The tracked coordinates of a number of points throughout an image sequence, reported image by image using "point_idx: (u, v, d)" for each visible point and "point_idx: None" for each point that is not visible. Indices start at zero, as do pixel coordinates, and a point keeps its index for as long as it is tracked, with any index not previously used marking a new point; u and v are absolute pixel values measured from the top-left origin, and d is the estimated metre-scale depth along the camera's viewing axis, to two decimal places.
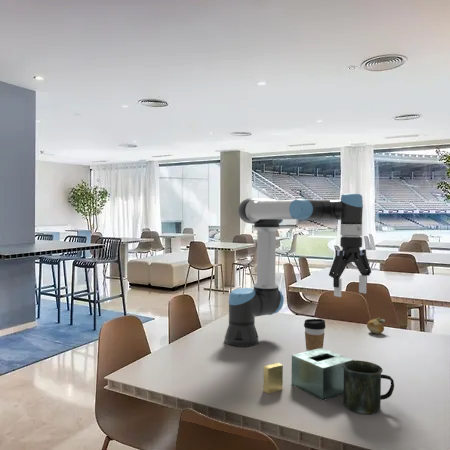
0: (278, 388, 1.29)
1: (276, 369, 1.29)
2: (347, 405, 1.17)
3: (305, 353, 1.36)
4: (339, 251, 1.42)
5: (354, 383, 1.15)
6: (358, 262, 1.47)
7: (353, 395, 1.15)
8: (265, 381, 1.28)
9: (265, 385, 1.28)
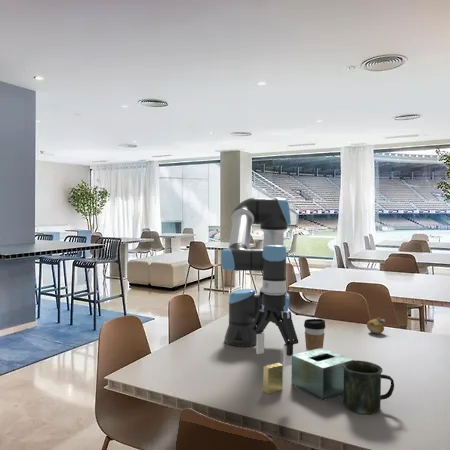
0: (278, 388, 1.29)
1: (276, 369, 1.29)
2: (347, 405, 1.17)
3: (305, 353, 1.36)
4: None
5: (354, 383, 1.15)
6: None
7: (353, 395, 1.15)
8: (265, 381, 1.28)
9: (265, 385, 1.28)
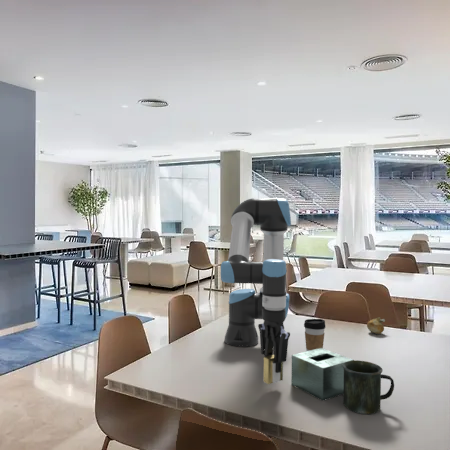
0: None
1: None
2: (347, 405, 1.17)
3: (305, 353, 1.36)
4: None
5: (354, 383, 1.15)
6: None
7: (353, 395, 1.15)
8: (265, 371, 1.28)
9: (265, 376, 1.28)
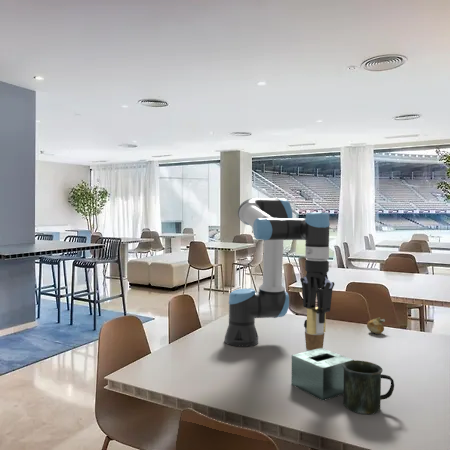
0: None
1: None
2: (347, 405, 1.17)
3: (305, 353, 1.36)
4: None
5: (354, 383, 1.15)
6: None
7: (353, 395, 1.15)
8: (309, 322, 1.29)
9: (309, 327, 1.29)
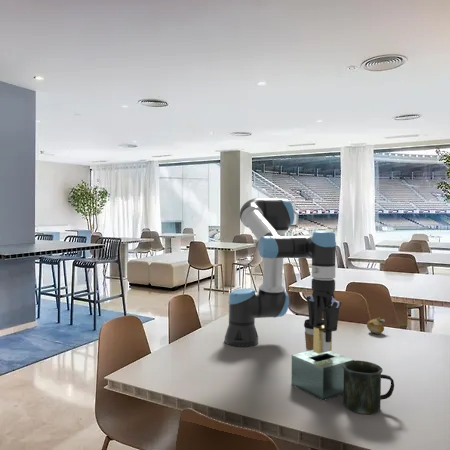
0: None
1: None
2: (347, 405, 1.17)
3: (305, 353, 1.36)
4: None
5: (354, 383, 1.15)
6: None
7: (353, 395, 1.15)
8: (315, 341, 1.30)
9: (316, 345, 1.30)
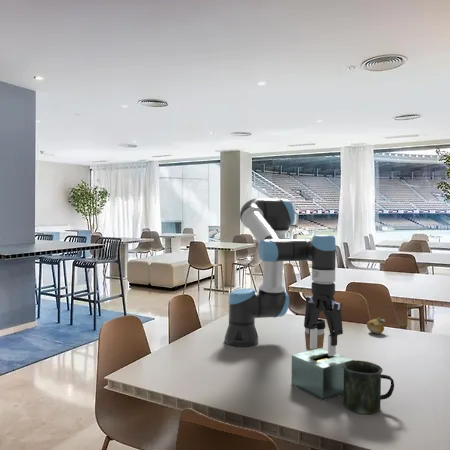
0: None
1: None
2: (347, 405, 1.17)
3: (305, 353, 1.36)
4: None
5: (354, 383, 1.15)
6: None
7: (353, 395, 1.15)
8: None
9: None
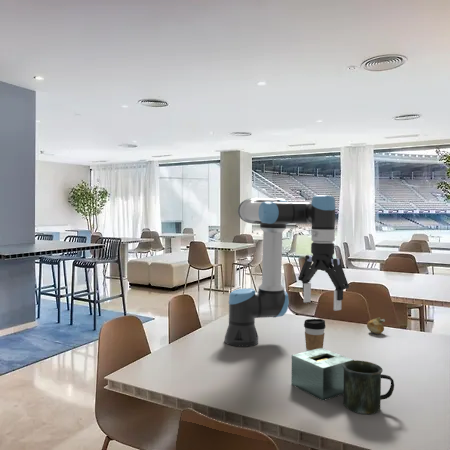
0: None
1: None
2: (347, 405, 1.17)
3: (305, 353, 1.36)
4: None
5: (354, 383, 1.15)
6: None
7: (353, 395, 1.15)
8: None
9: None
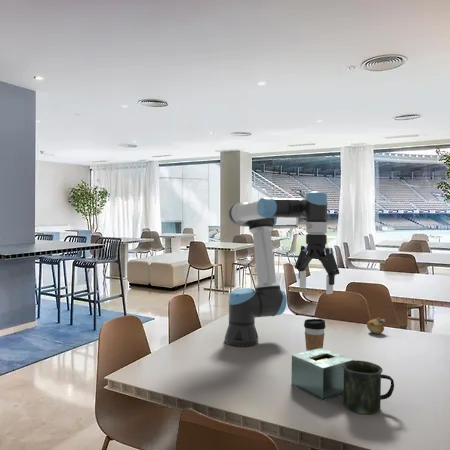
0: None
1: None
2: (347, 405, 1.17)
3: (305, 353, 1.36)
4: None
5: (354, 383, 1.15)
6: None
7: (353, 395, 1.15)
8: None
9: None
